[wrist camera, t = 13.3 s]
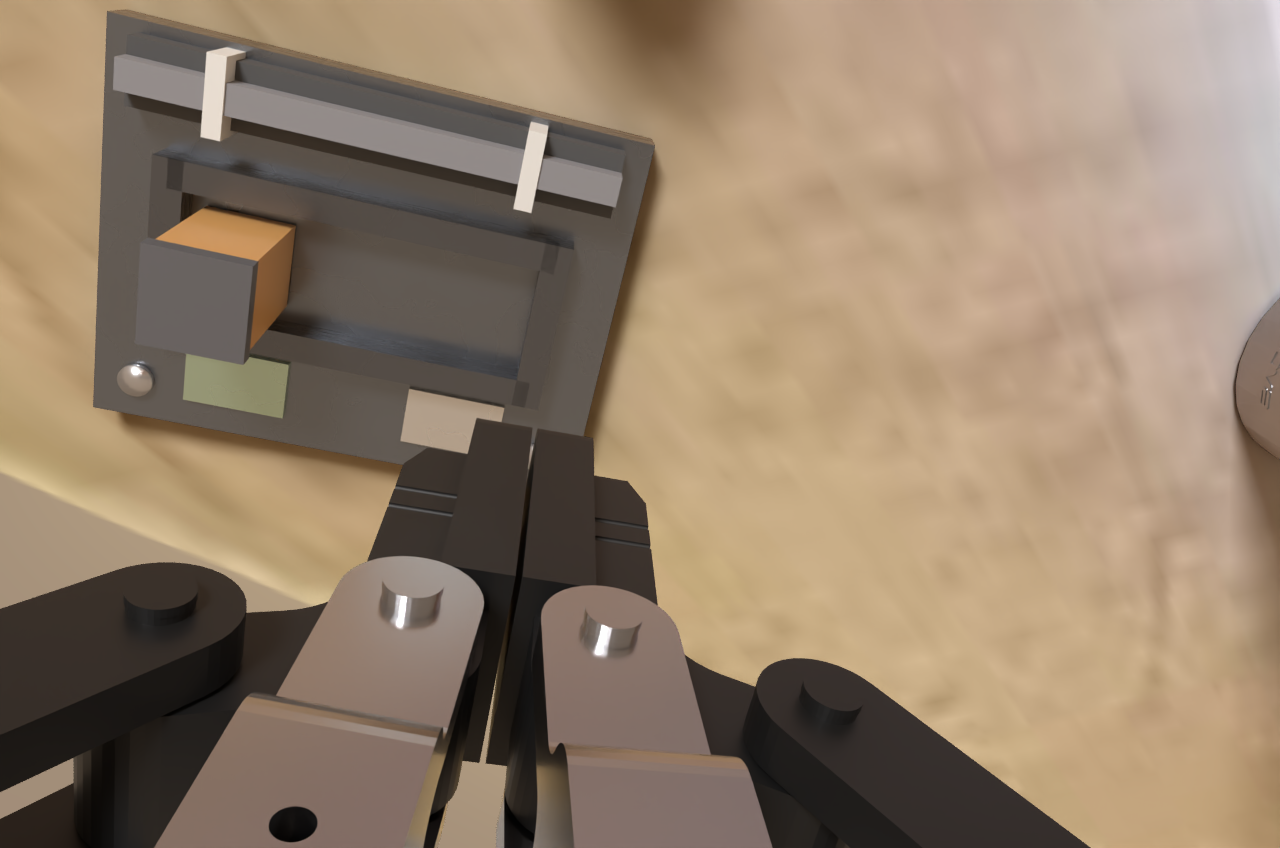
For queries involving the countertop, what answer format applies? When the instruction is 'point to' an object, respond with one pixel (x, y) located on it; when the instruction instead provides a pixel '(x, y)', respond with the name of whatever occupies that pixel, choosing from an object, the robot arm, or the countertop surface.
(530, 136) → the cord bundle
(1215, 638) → the countertop surface
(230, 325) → the lever
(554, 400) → the breaker panel
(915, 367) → the countertop surface
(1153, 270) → the countertop surface
